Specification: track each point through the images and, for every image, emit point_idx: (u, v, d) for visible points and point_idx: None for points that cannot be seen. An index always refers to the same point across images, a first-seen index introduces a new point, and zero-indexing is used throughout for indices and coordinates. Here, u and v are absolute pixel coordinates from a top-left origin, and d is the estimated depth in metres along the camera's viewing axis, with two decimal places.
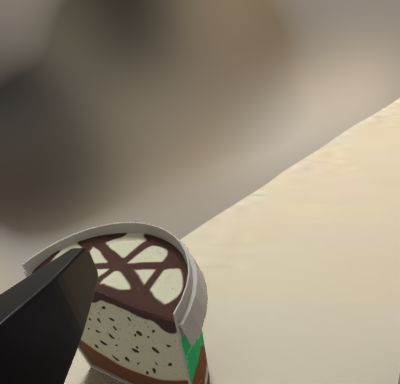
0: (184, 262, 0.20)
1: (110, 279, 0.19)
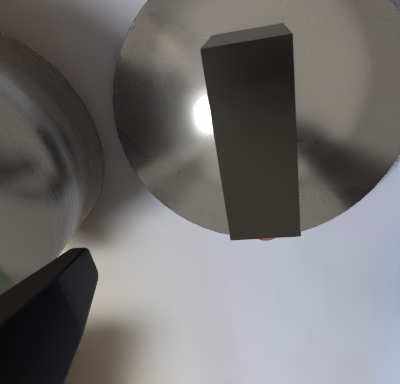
0: None
1: None
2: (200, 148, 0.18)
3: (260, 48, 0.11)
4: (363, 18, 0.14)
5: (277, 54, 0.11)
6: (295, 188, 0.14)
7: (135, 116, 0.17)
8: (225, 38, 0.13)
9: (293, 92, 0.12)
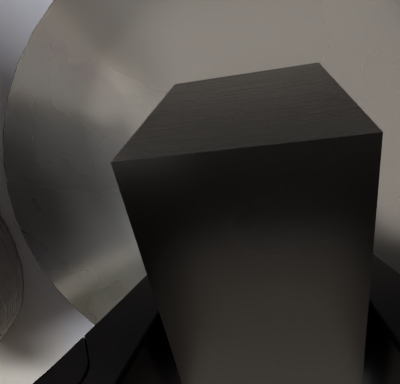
0: None
1: None
2: None
3: (281, 167, 0.04)
4: None
5: (331, 183, 0.04)
6: None
7: (49, 215, 0.10)
8: (193, 109, 0.06)
9: (367, 270, 0.04)
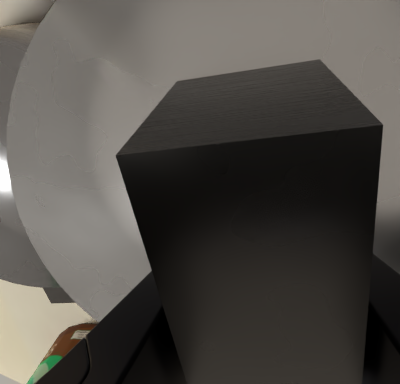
0: None
1: None
2: None
3: (283, 160, 0.04)
4: None
5: (331, 174, 0.04)
6: None
7: (52, 211, 0.10)
8: (195, 104, 0.06)
9: (367, 262, 0.05)
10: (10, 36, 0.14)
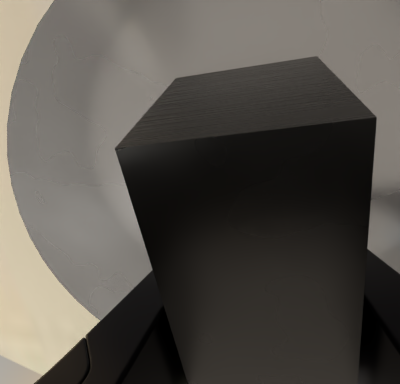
0: None
1: None
2: None
3: (280, 152, 0.04)
4: None
5: (327, 167, 0.04)
6: None
7: (52, 208, 0.10)
8: (194, 99, 0.06)
9: (362, 254, 0.05)
10: None
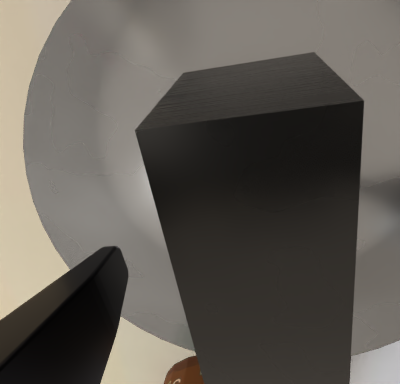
0: None
1: None
2: None
3: (280, 132, 0.05)
4: None
5: (321, 146, 0.05)
6: (342, 380, 0.07)
7: (64, 197, 0.11)
8: (202, 90, 0.06)
9: (353, 225, 0.05)
10: None
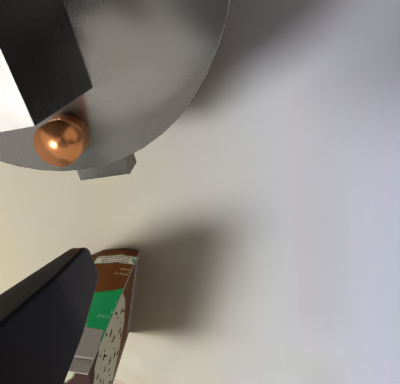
0: None
1: None
2: None
3: None
4: None
5: None
6: None
7: None
8: None
9: None
10: None
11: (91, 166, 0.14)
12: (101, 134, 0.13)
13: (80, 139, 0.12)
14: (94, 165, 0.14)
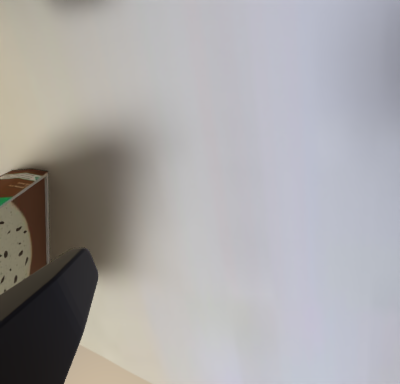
0: None
1: None
2: None
3: None
4: None
5: None
6: None
7: None
8: None
9: None
10: None
11: None
12: None
13: None
14: None
